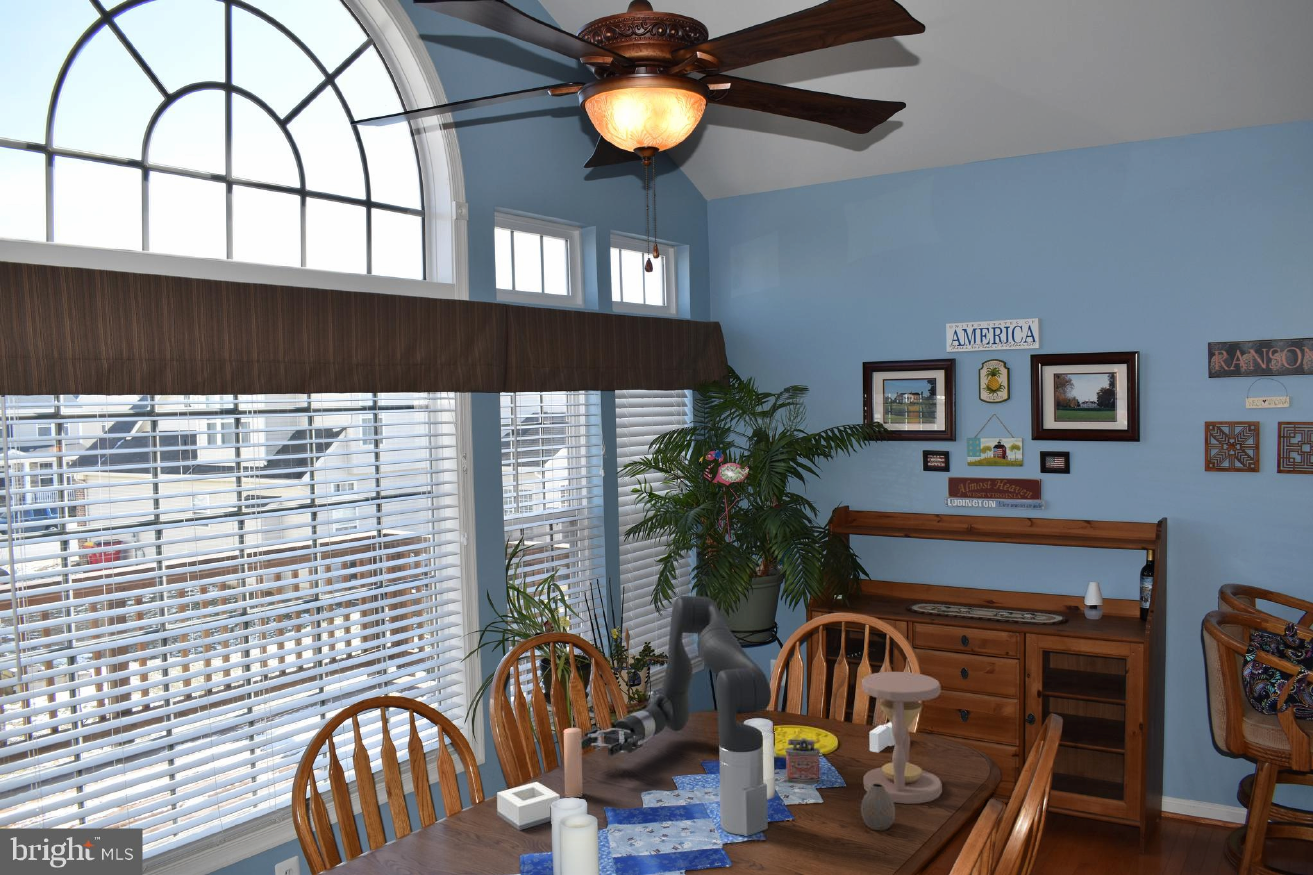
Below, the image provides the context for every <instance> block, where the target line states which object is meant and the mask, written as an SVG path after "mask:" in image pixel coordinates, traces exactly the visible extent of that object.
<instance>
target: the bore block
mask: <svg viewBox="0 0 1313 875" xmlns="http://www.w3.org/2000/svg"><path fill="white" fill-rule="evenodd" d="M560 798H561V797H560V794H558V793H557V792H555V791H554V790H552V789H551V788H548V787H547V786H545V785H543V784H542V783H539V781H534V782H530V783H526V784H523V785H520V786H516V787H513V788H510V789H505V790H502V791H499V792H496V801H497V803H496V806H497V808H496V810H497V812H496V813H497V816H498V817H500V819H502V820H504V821H505V822H506V823H508V824H509V825H511V826H512V827H513V828H515V829H516V830H518V831H521V830H525V829H528V828H532V827H535V826H539V825H542V824H545V823H548V822H551V818H550V807H551V804H552V802H554V801H557V800H559V799H560ZM560 800H561V799H560Z"/></svg>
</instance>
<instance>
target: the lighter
mask: <svg viewBox="0 0 1313 875" xmlns="http://www.w3.org/2000/svg"><path fill="white" fill-rule="evenodd" d="M788 745H794V747H790V748H786V749H785V753H786V758H785V759H786V760H785V761H786V762H785V764H786V771H785V772H786V776H785V782H787V783H789V784H808V785H810V784H820V783H821V776H820V756H819V754H820V750H819V749H818V748H814V740H807V739H806V738H802V739H801V740H798V739H789V740H788ZM797 746H799V747H797ZM809 746H810V747H811V748H810V747H809Z"/></svg>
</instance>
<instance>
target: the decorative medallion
mask: <svg viewBox="0 0 1313 875" xmlns="http://www.w3.org/2000/svg"><path fill="white" fill-rule="evenodd" d="M773 726H774V725H773ZM774 731H775V732H774V733H775V754H776V756H775V757H777V756H785V757H786V753H785V749H786V748H790V747H794V745H788V740H789V739H798V740H801V739H802V738H806V739H807V740H814V748H818V749H819V750H820V754H825V755H827V754H830V753H832V752H834V751H835V750H836V749H838V746H839V740H838V738H837V737H836V735H834V734H833V733H831V732H829V731H826V730H824V729H821V728H816V727H812V726H806V725H805V726H804V725H788V724H787V725H785V724H784V725H775V726H774ZM797 747H799V746H797ZM809 747H810V746H809ZM810 748H811V747H810ZM785 757H784V758H785Z"/></svg>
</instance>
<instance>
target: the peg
mask: <svg viewBox="0 0 1313 875" xmlns="http://www.w3.org/2000/svg"><path fill="white" fill-rule="evenodd" d="M581 740H582V728H578V727H569V728H566V729H564V730H563V753H564V754H563V756H564V757H563V759H564V761H563V762H564V797H565V798H567V797H580V798H582V797H583V793H584V792H583V754H582V752H583V749H582V745H581ZM565 795H567V796H565Z"/></svg>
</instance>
